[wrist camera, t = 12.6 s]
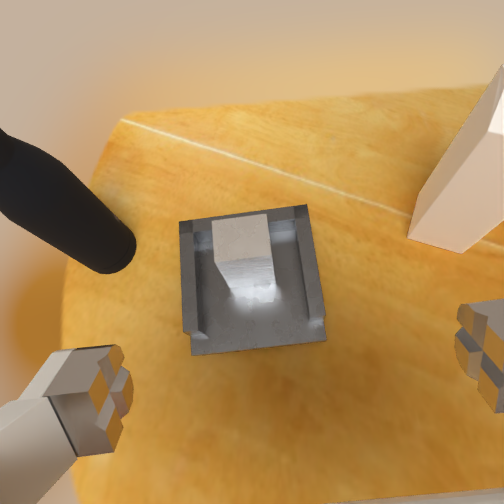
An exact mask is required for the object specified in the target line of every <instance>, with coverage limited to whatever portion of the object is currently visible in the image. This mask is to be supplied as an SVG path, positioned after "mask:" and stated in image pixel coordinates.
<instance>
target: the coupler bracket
mask: <svg viewBox="0 0 504 504" xmlns="http://www.w3.org/2000/svg"><path fill="white" fill-rule="evenodd" d="M259 214H266V215H267V222H268V229H269V236H270V243H271V250H272V258H273V266H274V274H275V282H276V283H270V284H261V285H253V286H245V287H237V288H230V287H229V286H228V284H227V282H226V281H225V279H224V277H223V276H222V274H221V272H220V271H219V269H218V267H217V266H216V264H215V262H214V249H213V234H212V221H214V220H222V219H229V218H237V217H244V216H252V215H259ZM179 235H180V262H181V289H182V316H183V332H184V333H186V334H188V335H190V336H191V355H192V356H201V355H210V354H219V353H228V352H236V351H245V350H254V349H262V348H271V347H280V346H288V345H297V344H306V343H315V342H323V341H326V340H327V339H326V333H325V327H324V321H323V320H324V318H325V316H326V313H325V307H324V302H323V296H322V290H321V284H320V278H319V272H318V266H317V261H316V255H315V249H314V243H313V237H312V231H311V225H310V220H309V214H308V208H307V204H305V205H298V206H291V207H283V208H276V209H269V210H261V211H254V212H246V213H239V214H232V215H224V216H217V217H210V218H202V219H195V220H188V221H180V222H179Z"/></svg>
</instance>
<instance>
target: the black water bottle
mask: <svg viewBox="0 0 504 504" xmlns="http://www.w3.org/2000/svg"><path fill="white" fill-rule="evenodd" d="M0 211H1V212H2V213H3V214H4V215H5V216H6V217H7V218H8V219H9V220H11V221H12V222H14V223H16V224H17V225H19V226H21V227H22V228H24V229H26V230H27V231H29V232H31V233H32V234H34V235H35V236H37V237H39V238H40V239H42V240H44V241H45V242H47V243H49V244H50V245H52V246H54V247H55V248H57V249H59V250H60V251H62V252H64V253H65V254H67V255H69V256H70V257H72V258H73V259H75V260H77V261H78V262H80V263H82V264H83V265H85V266H87V267H88V268H90V269H92V270H93V271H96V272H98V273H100V274H111V273H115V272H118V271H120V270H121V269H123V268H125V267H126V266H127V265H128V264H129V263H130V262H131V260H132V258H133V256H134V254H135V250H136V239H135V237H134V235H133V233H132V231H131V230H130V229H129V228H128V227H127V226H125V225H124V224H123V223H122V222H121V221H120V220H119V219H118V218H117V217H116V216H115V215H114V214H113V213H112V212H111V211H110V210H109V209H108V208H107V207H106V206H105V205H104V204H103V203H102V202H101V201H100V200H99V199H98V198H97V197H96V196H95V195H94V194H93V193H92V192H91V191H90V190H89V189H88V188H87V187H86V186H85V185H84V184H83V183H82V182H81V181H80V180H79V179H78V178H77V177H76V176H75V175H74V174H73V173H72V172H71V171H70V170H69V169H68V168H67V167H66V166H65V165H64V164H63V163H61V162H60V161H59V160H57V159H56V158H54V157H53V156H51V155H50V154H48V153H46V152H45V151H43V150H41V149H39V148H37V147H35V146H33V145H30V144H28V143H26V142H23V141H21V140H19V139H16V138H14V137H11V136H9V135H7V134H6V133H5V132H4V131H3V130H1V128H0Z"/></svg>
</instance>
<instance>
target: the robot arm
mask: <svg viewBox="0 0 504 504" xmlns="http://www.w3.org/2000/svg"><path fill="white" fill-rule="evenodd" d="M457 320H458V321H459V322H460V324H461V325H462V326H463V327H462V328H461V329H460V330H459V331H458V332H457V333H456V335H455V351H456V356H457V359H458V361H459V364H460V366H461V368H462V369H463V370H464V372H465V373H466V375H468V376H469V377H471V378H473V379H475V380H477V381H479V382H478V391H479V393H480V394H481V395H482V397H483V398H484V399H485V401H486V402H487V403H488V405H489V406H490V407H491V409H492V410H493V411H494V413H504V299H497V300H489V301H482V302H474V303H466V304H461V305H460V307H459V309H458V314H457ZM123 360H124V355H123V353H122V350H121V348H120V347H119V346H118V345H116V344H114V345H104V346H94V347H83V348H77V349H75V348H73V349H65V350H57V351H55V352H53V353H52V354H51V355H50V356H49V358H48V359H47V360H46V362H45V363H44V365H43V366H42V367H41V369H40V370H39V372H38V373H37V374H36V375H35V377H34V378H33V380H32V381H31V382H30V384H29V385H28V387H27V388H26V389H25V391H24V392H23V393H22V395H21V396H20V397H19V399H18V400H14V401H10V402H9V403H7V404H5V405H4V406H2V407H1V408H0V504H36V503H37V502H38V501H39V500H40V499H41V498H42V497H43V496H44V495H45V494H46V493H47V492H48V490H49V489H50V488H51V487H52V486H53V485H54V484H55V483H56V482H57V480H59V478H60V477H61V476H62V475H63V474H64V473H65V472H66V471H67V470H68V469H69V468H70V467H71V466H72V465H73V463H74V462H75V461H76V460H77V457H82V456H90V455H97V454H105V453H113V452H114V451H115V448H116V446H117V443H118V440H119V438H120V435H121V432H122V430H123V425H122V422H121V420H120V419H121V418H123V417H124V416H125V415H126V414H127V413H128V412H129V410H130V407H131V404H132V401H133V390H134V389H133V382H132V378H131V375H130V372H129V371H128V370H126V369H125V368H124V367H122V366H121V365H122V362H123ZM326 504H504V487H501V488H490V489H479V490H468V491H457V492H446V493H435V494H424V495H413V496H402V497H391V498H381V499H370V500H359V501H348V502H337V503H326Z"/></svg>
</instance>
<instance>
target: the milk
mask: <svg viewBox="0 0 504 504" xmlns="http://www.w3.org/2000/svg"><path fill="white" fill-rule="evenodd" d="M502 221H504V64H502V65H501V67H500V68H499V70H498V71H497V73H496V75H495V76H494V78H493V79H492V81H491V82H490V84H489V85H488V87H487V88H486V90H485V92H484V93H483V95H482V96H481V98H480V99H479V101H478V102H477V104H476V105H475V107H474V109H473V110H472V112H471V113H470V115H469V116H468V118H467V119H466V121H465V122H464V124H463V126H462V127H461V129H460V130H459V132H458V133H457V135H456V136H455V138H454V140H453V141H452V143H451V144H450V146H449V147H448V149H447V150H446V152H445V153H444V155H443V157H442V158H441V160H440V161H439V163H438V164H437V166H436V167H435V169H434V170H433V172H432V174H431V175H430V177H429V178H428V180H427V181H426V183H425V184H424V186H423V188H422V189H421V191H420V192H419V194H418V197H417V201H416V205H415V209H414V212H413V216H412V220H411V224H410V227H409V231H408V235H407V238H408V239H411V240H415V241H418V242H422V243H425V244H428V245H432V246H435V247H439V248H442V249H446V250H449V251H453V252H456V253H459V254H462V253H464V252H465V251H466V250H467V249H469V248H470V247H471V246H472V245H474V244H475V243H476V242H477V241H479V240H480V239H481V238H482V237H484V236H485V235H486V234H487V233H489V232H490V231H491V230H492V229H494V228H495V227H496V226H497V225H499V224H500V223H501V222H502Z"/></svg>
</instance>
